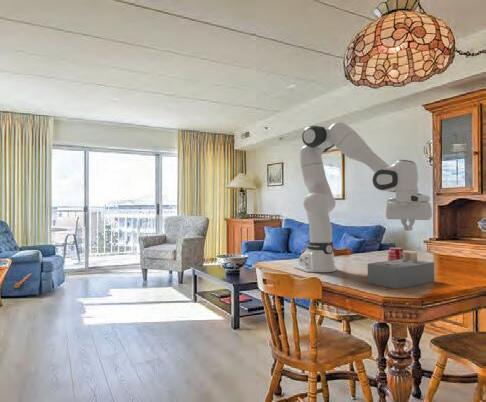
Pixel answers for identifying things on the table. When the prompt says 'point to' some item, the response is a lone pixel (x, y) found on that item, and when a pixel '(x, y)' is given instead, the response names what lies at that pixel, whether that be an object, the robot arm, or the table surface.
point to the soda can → (395, 253)
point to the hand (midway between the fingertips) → (408, 230)
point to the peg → (410, 257)
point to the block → (400, 273)
